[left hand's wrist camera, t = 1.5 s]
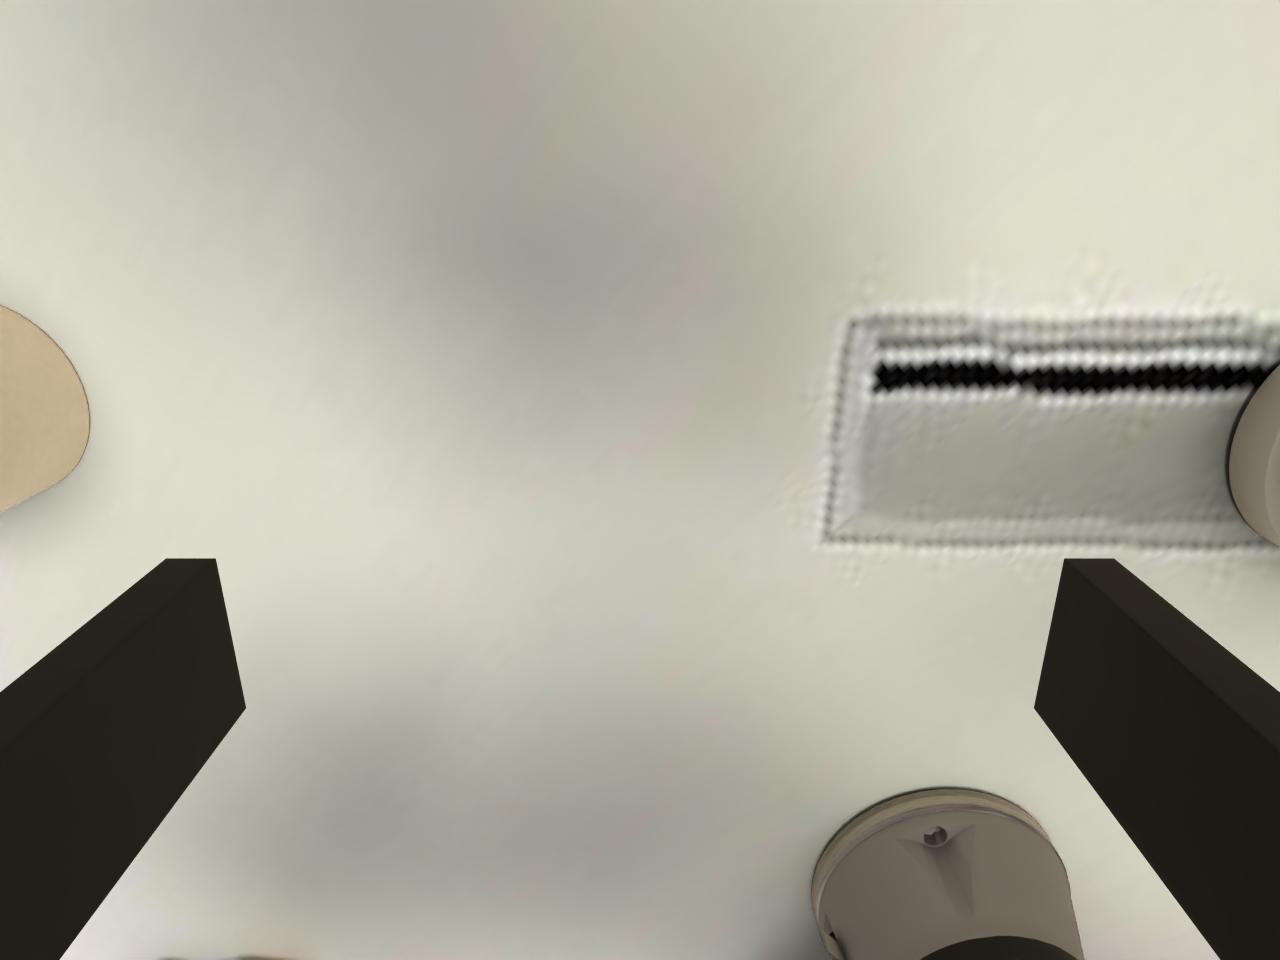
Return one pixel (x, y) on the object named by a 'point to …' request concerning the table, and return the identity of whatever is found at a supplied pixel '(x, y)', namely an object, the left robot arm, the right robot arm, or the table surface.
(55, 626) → the table surface
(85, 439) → the jar
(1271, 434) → the bust sculpture
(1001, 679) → the table surface
